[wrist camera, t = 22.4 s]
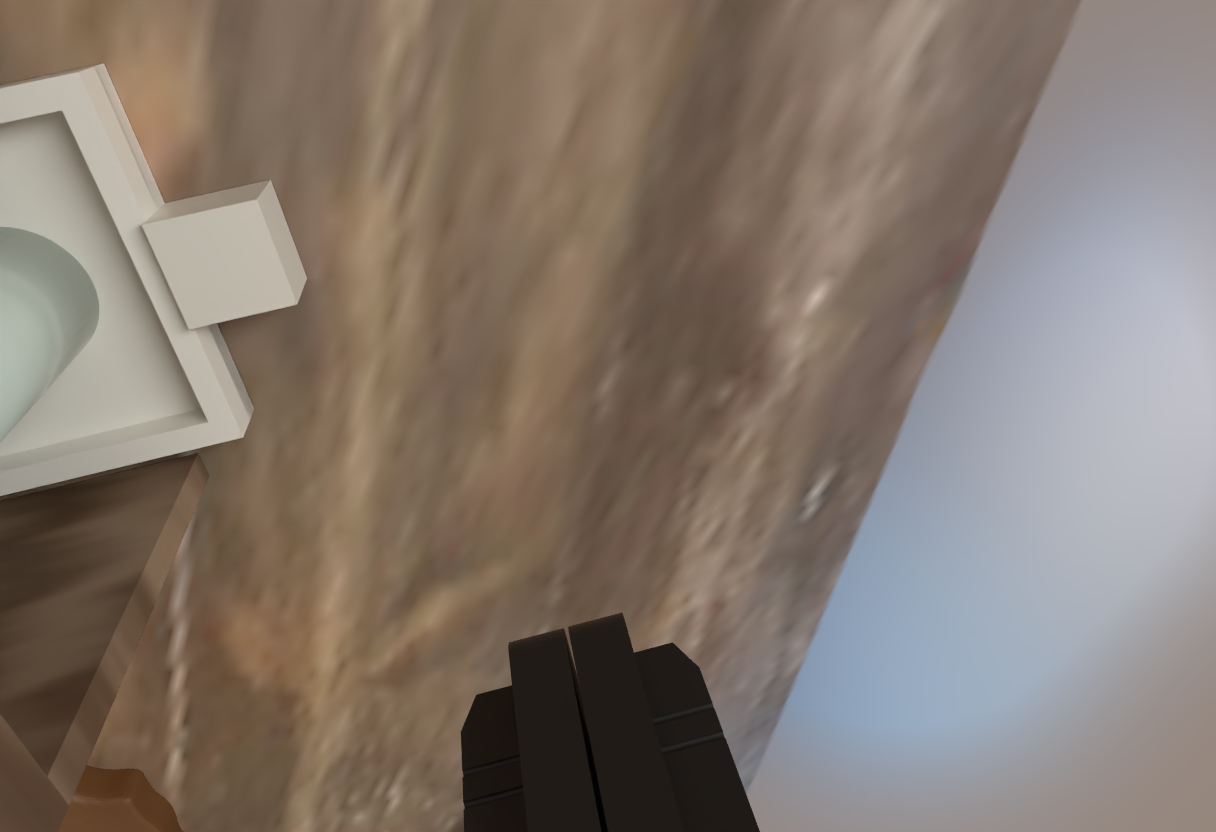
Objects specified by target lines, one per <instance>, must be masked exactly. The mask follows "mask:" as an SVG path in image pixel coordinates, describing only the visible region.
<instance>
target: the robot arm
mask: <svg viewBox="0 0 1216 832" xmlns="http://www.w3.org/2000/svg"><path fill="white" fill-rule="evenodd" d="M568 629H569V635H570V640H571V645H572V650H573V655H574V660H575V665H576V669H575V666H574V662H573V658H572V655H571V651H570V647H569V644H568V640H567V637H566V633H565V630H564V628H563V629H559V630H555V631H551V632H547V633H544V634H540V635H536V636H532V637H528V638H524V639H521V640H517V641H513V642H509V645H508V647H509V659H510V669H511V678H512V686H508V687H504V688H500V689H497V690H493V691H489V692H485V693H481V694H478V695H476V697H475V699H474V702H473V704H472V707H471V709H470V711H469V714H468V716H467V719H466V721H465V723H464V726H463V728H462V731H461V747H462V771H463V775H464V777H463V802H464V806H465V810H464V832H760V831H759V828H758V825H757V823H756V820H755V817H754V814H753V812H752V809H751V807H750V804H749V801H748V798H747V795H746V793H745V790H744V787H743V785H742V782H741V779H740V777H739V774H738V771H737V768H736V766H735V763H734V760H733V758H732V755H731V752H730V749H729V747H728V744H727V741H726V739H725V738H724V735H723V730H722V728H721V725H720V722H719V720H718V717H717V714H716V711H715V709H714V708H713V704H712V701H711V698H710V695H709V693H708V690H707V687H706V684H705V682H704V679H703V676H702V674H701V671H700V668H699V667H698V666H697V665H696V664H695V663H694V662H693V661H692V660H691V659H689V658H688V657H687V656H686V655H685V654H684V653H683V652H682V651H681V650H680V649H679V648H678V647H677V646H676V645H675V644H674V643H669V644H665V645H662V646H658V647H654V648H650V649H646V650H643V651H639V652H635V653H634V652H633V648H632V645H631V641H630V637H629V634H628V630H627V627H626V623H625V620H624V617H623V614H622V613H619V614H615V615H611V616H608V617H604V618H600V619H596V620H592V621H588V622H585V623H581V624H577V625H573V626H569V627H568ZM576 671H577V673H576ZM577 676H578V677H577Z"/></svg>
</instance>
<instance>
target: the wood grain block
mask: <svg viewBox="0 0 1216 832" xmlns="http://www.w3.org/2000/svg"><path fill="white" fill-rule="evenodd" d="M208 478H209V475H208V473H207V471H206V469H205V467H204V465H203V462H202V460H201V458H200V456H199V454H198V453H197V454H193V455H189V456H185V457H181V458H177V459H173V460H168V461H164V462H160V463H156V464H152V465H148V466H144V467H139V468H135V469H131V470H127V471H123V472H119V473H115V474H110V475H106V476H102V477H98V478H94V479H90V480H86V481H81V482H77V483H73V484H69V485H65V486H61V487H57V488H52V489H48V490H44V491H40V492H36V493H32V494H28V495H23V496H19V497H15V498H11V499H7V500H3V501H0V832H58V831H59V828H60V826H61V824H62V821H63V819H64V817H65V814H66V812H67V809H68V807H69V805H70V802H71V800H72V798H73V795H74V793H75V791H76V788H77V786H78V784H79V781H80V779H81V777H82V774H83V772H84V769H85V767H86V765H87V762H88V760H89V758H90V755H91V753H92V751H93V748H94V746H95V744H96V741H97V739H98V737H99V734H100V732H101V729H102V727H103V725H104V722H105V720H106V718H107V715H108V713H109V711H110V708H111V706H112V704H113V701H114V699H115V697H116V694H117V692H118V689H119V687H120V685H121V682H122V680H123V678H124V675H125V673H126V671H127V668H128V666H129V664H130V661H131V659H132V657H133V654H134V652H135V649H136V647H137V645H138V642H139V640H140V638H141V635H142V633H143V631H144V628H145V626H146V624H147V621H148V619H149V617H150V614H151V612H152V609H153V607H154V605H155V602H156V600H157V598H158V595H159V593H160V591H161V588H162V586H163V584H164V581H165V579H166V577H167V574H168V572H169V570H170V567H171V565H172V562H173V560H174V558H175V555H176V553H177V551H178V548H179V546H180V544H181V541H182V539H183V537H184V534H185V532H186V530H187V527H188V525H189V522H190V520H191V518H192V515H193V513H194V511H195V508H196V506H197V504H198V501H199V499H200V497H201V494H202V492H203V490H204V487H205V485H206V482H207V480H208Z"/></svg>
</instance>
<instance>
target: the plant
mask: <svg viewBox="0 0 1216 832" xmlns="http://www.w3.org/2000/svg"><path fill="white" fill-rule="evenodd" d="M58 832H183V831H182V829H181V828H180V826H179V824H178V822H177V817H176V814H175V812H174V810H173V807H172V806H171V804H170V803H169V802H168V801H167V800H166V799H165V798H164V797H162V796H161V795H160V794H158V793H157V792H156V791H155V790H154V789H153V788H152V786H151V785H150V783H149V782H148V781H147V779H146V778H145V776H144V774H143V772H142V771H141V770H138V769H118V770H108V769H100V768H94V767H91V766H88V765H86V767H85V769H84V772H83V774H82V777H81V779H80V781H79V784H78V786H77V788H76V791H75V793H74V795H73V798H72V800H71V802H70V805H69V807H68V809H67V812H66V814H65V817H64V819H63V821H62V824H61V826H60V828H59V831H58Z"/></svg>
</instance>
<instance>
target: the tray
mask: <svg viewBox="0 0 1216 832" xmlns="http://www.w3.org/2000/svg"><path fill="white" fill-rule="evenodd" d="M0 227H12V228H18V229H23V230H27V231H30V232H33V233H36V234H38V235H41V236H43V237H46V238H47V239H49V240H51V241H53V242H55V243H56V244H58V245H59V246H61V247H62V248H64V249H65V250H66V251H67V252H69V253H70V254H71V255H72V256H73V257H74V258H75V259H76V260H77V261H78V262H79V263H80V264H81V265H82V267H83V268H84V269H85V271H86V272H87V273H88V275H89V277H90V278H91V280H92V282H93V284H94V287H95V289H96V292H97V296H98V300H99V320H98V325H97V328H96V330H95V333H94V334H93V336H92V338H91V339H90V341H89V342H88V343H87V344H86V346H85V347H84V348H83V349H82V350H81V351H80V352H79V354H78V355H77V356H76V357H75V358H74V359H73V360H72V362H71V363H70V364H69V365H68V366H67V367H66V368H65V369H64V371H63V372H62V373H61V374H60V375H59V376H58V377H57V379H56V380H55V381H54V382H53V383H52V384H51V385H50V387H49V388H48V389H47V390H46V391H45V392H44V393H43V395H42V396H41V397H40V398H39V399H38V400H37V401H36V403H35V404H34V405H33V406H32V407H31V408H30V409H29V411H28V412H27V413H26V414H25V415H24V416H23V417H22V418H21V420H20V421H19V422H18V423H17V424H16V425H15V426H14V428H13V429H12V430H11V431H10V432H9V433H8V434H7V436H6V437H5V438H4V439H3V440H2V441H1V442H0V496H3V495H7V494H11V493H15V492H19V491H23V490H27V489H32V488H36V487H40V486H44V485H48V484H52V483H57V482H61V481H65V480H69V479H73V478H77V477H81V476H86V475H90V474H94V473H98V472H102V471H106V470H110V469H115V468H119V467H123V466H127V465H131V464H135V463H139V462H144V461H148V460H152V459H156V458H160V457H164V456H168V455H173V454H177V453H181V452H185V451H189V450H193V449H198V448H202V447H206V446H210V445H214V444H218V443H222V442H227V441H231V440H235V439H239V438H243V437H244V434H245V432H246V429H247V426H248V424H249V421H250V419H251V416H252V414H253V411H254V407H253V405H252V403H251V401H250V398H249V396H248V394H247V391H246V389H245V387H244V384H243V382H242V380H241V378H240V375H239V373H238V371H237V368H236V366H235V364H234V361H233V359H232V357H231V355H230V352H229V350H228V348H227V345H226V343H225V341H224V339H223V336H222V334H221V332H220V329H219V327H218V325H217V323H219V322H224V321H228V320H232V319H237V318H241V317H245V316H250V315H254V314H258V313H263V312H267V311H271V310H275V309H280V308H284V307H288V306H293V305H297V303H298V301H299V298H300V295H301V293H302V290H303V287H304V285H305V282H306V280H307V277H306V274H305V271H304V269H303V266H302V263H301V261H300V258H299V255H298V253H297V250H296V247H295V244H294V242H293V239H292V236H291V234H290V231H289V228H288V225H287V223H286V220H285V217H284V215H283V212H282V209H281V207H280V204H279V201H278V198H277V196H276V193H275V190H274V188H273V185H272V182H271V180H268V181H263V182H259V183H254V184H250V185H245V186H241V187H236V188H232V189H227V190H223V191H218V192H214V193H209V194H204V195H200V196H195V197H191V198H186V199H182V200H177V201H173V202H168V203H164V201H163V198H162V196H161V194H160V192H159V189H158V187H157V185H156V182H155V180H154V178H153V175H152V173H151V171H150V169H149V166H148V164H147V162H146V159H145V157H144V155H143V153H142V150H141V148H140V146H139V143H138V141H137V139H136V136H135V134H134V132H133V130H132V127H131V125H130V123H129V120H128V118H127V116H126V113H125V111H124V109H123V107H122V104H121V102H120V100H119V97H118V95H117V93H116V91H115V88H114V86H113V84H112V81H111V79H110V77H109V74H108V72H107V70H106V68H105V65H104V63H103V64H98V65H93V66H88V67H84V68H79V69H74V70H69V71H65V72H60V73H55V74H50V75H46V76H41V77H36V78H31V79H26V80H22V81H17V82H12V83H7V84H3V85H0Z"/></svg>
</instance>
